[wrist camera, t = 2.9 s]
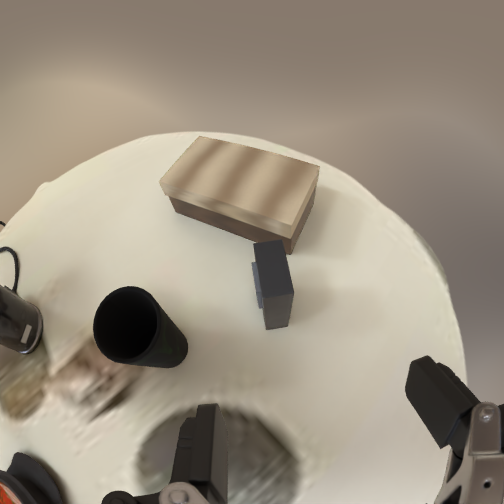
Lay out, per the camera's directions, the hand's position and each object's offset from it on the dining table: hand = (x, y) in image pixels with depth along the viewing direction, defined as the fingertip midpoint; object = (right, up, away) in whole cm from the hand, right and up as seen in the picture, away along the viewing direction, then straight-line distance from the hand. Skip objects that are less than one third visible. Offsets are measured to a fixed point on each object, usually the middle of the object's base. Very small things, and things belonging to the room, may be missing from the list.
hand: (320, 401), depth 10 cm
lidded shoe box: (-4, +13, +34) cm, 37 cm away
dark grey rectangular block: (0, -1, +26) cm, 26 cm away
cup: (-14, -7, +24) cm, 29 cm away
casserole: (-39, -39, +9) cm, 55 cm away
